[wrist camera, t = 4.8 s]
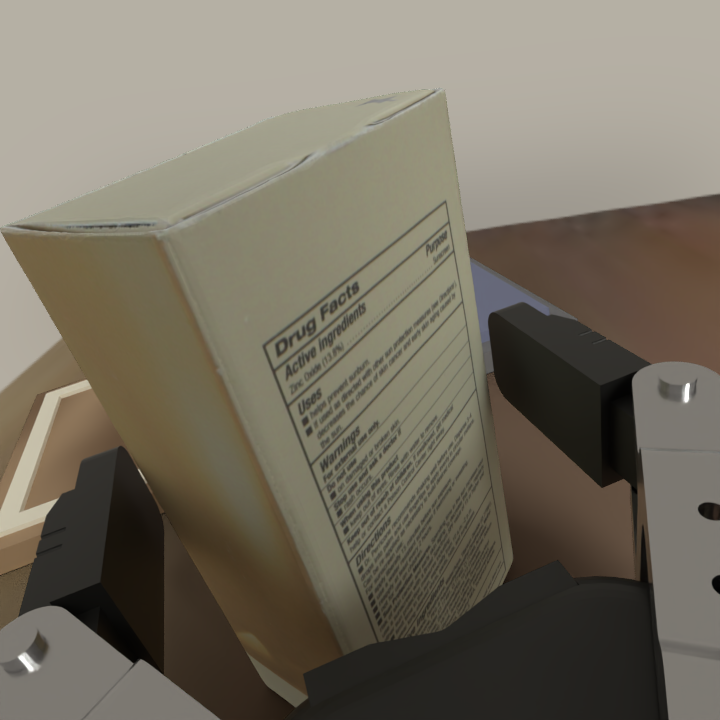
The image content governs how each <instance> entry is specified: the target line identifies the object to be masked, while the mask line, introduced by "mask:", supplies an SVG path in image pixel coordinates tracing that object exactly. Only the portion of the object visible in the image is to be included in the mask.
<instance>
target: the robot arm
mask: <svg viewBox="0 0 720 720" xmlns="http://www.w3.org/2000/svg"><path fill="white" fill-rule="evenodd" d="M488 329H489V336H490V344H491V352H492V360H493V368H494V375H495V379H496V382H497V385H498V387H499V389H500V391H501V393H502V394H503V396H504V397H505V398H506V399H507V400H508V401H509V402H510V403H511V404H512V405H513V406H514V407H515V408H516V409H517V410H518V411H520V412H521V413H522V414H523V415H524V416H525V417H526V418H527V419H528V420H529V421H530V422H531V423H532V424H534V425H535V426H536V427H537V428H538V429H539V430H540V431H541V432H542V433H543V434H544V435H545V436H546V437H548V438H549V439H550V440H551V441H552V442H553V443H554V444H555V445H556V446H557V447H558V448H559V449H560V450H562V451H563V452H564V453H565V454H566V455H567V456H568V457H569V458H570V459H571V460H572V461H573V462H575V463H576V464H577V465H578V466H579V467H580V468H581V469H582V470H583V471H584V472H585V473H586V474H587V475H589V476H590V477H591V478H592V479H593V480H594V481H595V482H596V483H597V484H598V485H599V486H600V487H601V488H603V487H605V486H608V485H610V484H612V483H615V482H617V481H619V480H622V479H625V480H626V481H627V482H628V483H630V505H631V521H632V537H633V553H634V570H635V580H632V579H626V578H618V577H604V576H592V577H579V578H572V576H571V575H570V574H569V573H568V572H567V570H566V569H565V568H564V567H563V566H562V564H561V563H560V562H559V561H558V560H557V561H554V562H552V563H550V564H548V565H545V566H543V567H541V568H539V569H536V570H534V571H532V572H530V573H527V574H525V575H523V576H521V577H518V578H516V579H514V580H512V581H510V582H507V583H505V584H503V585H501V586H499V587H497V588H496V589H495V590H494V591H492V592H491V593H490V594H489V595H487V596H486V597H485V598H484V599H482V600H481V601H480V602H478V603H477V604H476V605H475V606H473V607H472V608H471V609H470V610H468V611H467V612H466V613H465V614H463V615H462V616H461V617H460V618H458V619H457V620H456V621H455V622H453V623H452V624H451V625H450V626H448V627H447V628H445V629H443V630H441V631H437V632H433V633H427V634H422V635H416V636H411V637H406V638H400V639H395V640H389V641H384V642H378V643H373V644H368V645H366V646H364V647H362V648H360V649H357V650H355V651H353V652H351V653H348V654H346V655H344V656H342V657H339V658H337V659H335V660H333V661H330V662H328V663H326V664H324V665H321V666H319V667H317V668H315V669H313V670H310V671H308V672H306V673H304V674H303V676H304V681H305V685H306V689H307V694H308V698H307V699H306V700H305V701H303V702H302V703H301V704H300V705H298V706H297V707H296V708H295V709H294V710H293V711H292V712H291V713H290V714H289V715H288V716H287V717H286V718H285V719H284V720H720V376H719V375H718V374H717V373H715V372H714V371H712V370H710V369H708V368H706V367H703V366H700V365H697V364H692V363H686V362H662V363H656V364H650V363H649V362H647V361H645V360H643V359H642V358H640V357H638V356H637V355H635V354H633V353H631V352H630V351H628V350H626V349H624V348H623V347H621V346H619V345H618V344H616V343H614V342H612V341H611V340H606V338H605V337H604V336H602V335H600V334H599V333H597V332H592V329H590V328H588V327H586V326H585V325H583V324H581V323H580V322H578V321H576V320H574V319H570V318H565V317H561V316H557V315H553V314H551V315H548V316H547V315H545V314H543V313H542V312H540V311H538V310H537V309H535V308H534V307H532V306H530V305H529V304H527V303H525V302H519V303H517V304H514V305H511V306H508V307H506V308H503V309H500V310H497V311H495V312H492V313H490V315H489V317H488ZM40 537H41V540H40V541H39V543H38V547H37V551H36V556H37V558H34V562H33V565H32V569H31V572H30V576H29V580H28V583H27V587H26V591H25V594H24V598H23V601H22V605H21V609H20V612H19V616H18V618H16V619H15V620H13V621H12V622H10V623H9V624H8V625H6V626H5V627H4V628H2V629H1V630H0V720H220V719H219V718H218V717H217V716H215V715H214V714H213V713H211V712H210V711H209V710H208V709H206V708H205V707H204V706H202V705H201V704H200V703H199V702H197V701H196V700H195V699H193V698H192V697H191V696H190V695H188V694H187V693H186V692H184V691H183V690H182V689H181V688H179V687H178V686H177V685H175V684H174V683H173V682H172V681H170V680H169V679H168V678H166V677H165V676H164V675H163V674H164V526H163V521H162V517H161V514H160V511H159V508H158V506H157V503H156V501H155V500H154V498H153V496H152V494H151V492H150V491H149V489H148V487H147V485H146V483H145V482H144V480H143V478H142V476H141V474H140V473H139V471H138V469H137V467H136V465H135V464H134V462H133V460H132V458H131V456H130V455H129V453H128V452H127V450H126V449H125V448H124V447H123V446H118V447H115V448H112V449H110V450H107V451H104V452H101V453H99V454H96V455H93V456H90V457H88V458H85V459H83V460H82V461H81V463H80V467H79V472H78V476H77V481H76V485H75V489H73V490H70V491H68V492H65V493H62V494H61V496H60V497H59V499H58V500H57V501H56V503H55V504H54V505H53V507H52V508H51V510H50V511H49V512H48V514H47V515H46V518H45V522H44V525H43V529H42V532H41V536H40Z"/></svg>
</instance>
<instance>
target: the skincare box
mask: <svg viewBox="0 0 720 720" xmlns="http://www.w3.org/2000/svg"><path fill="white" fill-rule="evenodd" d="M0 229H1V233H2V234H3V236H4V238H5V240H6V242H7V243H8V245H9V247H10V249H11V250H12V252H13V254H14V255H15V257H16V259H17V261H18V262H19V264H20V266H21V267H22V269H23V271H24V272H25V274H26V276H27V277H28V279H29V281H30V282H31V284H32V286H33V287H34V289H35V291H36V293H37V294H38V296H39V298H40V300H41V301H42V303H43V305H44V306H45V308H46V310H47V312H48V313H49V315H50V317H51V319H52V320H53V322H54V324H55V325H56V327H57V329H58V330H59V332H60V334H61V336H62V337H63V339H64V341H65V342H66V344H67V346H68V347H69V349H70V351H71V352H72V354H73V356H74V357H75V359H76V361H77V363H78V364H79V366H80V368H81V370H82V371H83V373H84V375H85V377H86V379H87V380H88V382H89V384H90V386H91V387H92V389H93V391H94V393H95V394H96V396H97V398H98V399H99V401H100V403H101V404H102V406H103V408H104V409H105V411H106V413H107V415H108V416H109V418H110V420H111V422H112V423H113V425H114V427H115V429H116V430H117V432H118V433H119V435H120V437H121V438H122V440H123V441H124V443H125V445H126V447H127V449H128V451H129V452H130V454H131V456H132V458H133V459H134V461H135V463H136V464H137V466H138V468H139V469H140V471H141V473H142V475H143V476H144V478H145V480H146V481H147V483H148V485H149V487H150V488H151V490H152V492H153V494H154V495H155V497H156V499H157V501H158V502H159V504H160V506H161V507H162V509H163V510H164V512H165V514H166V515H167V517H168V519H169V521H170V523H171V525H172V526H173V528H174V530H175V532H176V533H177V535H178V537H179V538H180V540H181V542H182V544H183V545H184V547H185V549H186V550H187V552H188V554H189V555H190V557H191V559H192V560H193V562H194V564H195V565H196V567H197V569H198V571H199V572H200V574H201V576H202V577H203V579H204V581H205V582H206V584H207V586H208V587H209V589H210V591H211V593H212V594H213V596H214V598H215V599H216V601H217V603H218V604H219V606H220V608H221V609H222V611H223V613H224V615H225V616H226V618H227V620H228V621H229V623H230V625H231V627H232V628H233V630H234V632H235V634H236V635H237V637H238V639H239V641H240V642H241V644H242V646H243V648H244V649H245V651H246V653H247V654H248V656H249V658H250V660H251V662H252V663H253V665H254V666H255V668H256V670H257V672H258V673H259V675H260V677H261V678H262V680H263V681H264V683H265V684H266V685H267V686H268V687H269V688H270V689H272V690H273V691H275V692H276V693H277V694H278V695H280V696H281V697H282V698H284V699H285V700H286V701H288V702H289V703H290V704H292V705H293V706H294V707H297V706H298V705H300V704H301V703H302V702H303V701H305V700H306V699H307V698H308V694H307V689H306V685H305V681H304V676H303V674H304V673H306V672H308V671H310V670H313V669H315V668H317V667H319V666H321V665H324V664H326V663H328V662H330V661H333V660H335V659H337V658H339V657H342V656H344V655H346V654H348V653H351V652H353V651H355V650H357V649H360V648H362V647H364V646H366V645H368V644H373V643H378V642H384V641H389V640H395V639H400V638H406V637H411V636H416V635H422V634H427V633H433V632H437V631H441V630H443V629H445V628H447V627H448V626H450V625H451V624H452V623H453V622H455V621H456V620H457V619H458V618H460V617H461V616H462V615H463V614H465V613H466V612H467V611H468V610H470V609H471V608H472V607H473V606H475V605H476V604H477V603H478V602H480V601H481V600H482V599H484V598H485V597H486V596H487V595H489V594H490V593H491V592H492V591H494V590H495V589H496V588H497V587H499V586H501V585H502V584H503V582H504V580H505V577H506V575H507V573H508V571H509V569H510V567H511V564H512V561H513V551H512V545H511V538H510V532H509V525H508V517H507V511H506V504H505V498H504V491H503V485H502V478H501V471H500V464H499V457H498V451H497V444H496V438H495V429H494V422H493V416H492V409H491V403H490V396H489V389H488V382H487V375H486V369H485V362H484V356H483V349H482V342H481V335H480V328H479V321H478V313H477V306H476V300H475V292H474V284H473V278H472V272H471V265H470V258H469V252H468V245H467V237H466V230H465V224H464V218H463V212H462V205H461V197H460V191H459V183H458V177H457V170H456V164H455V157H454V150H453V144H452V138H451V129H450V122H449V116H448V108H447V101H446V95H445V90H444V89H442V88H438V89H432V90H426V89H423V90H415V91H408V92H400V93H393V94H388V95H382V96H377V97H372V98H366V99H361V100H356V101H350V102H345V103H339V104H333V105H327V106H321V107H315V108H309V109H304V110H299V111H295V112H291V113H287V114H283V115H280V116H276V117H271V118H267V119H264V120H262V121H260V122H258V123H256V124H254V125H252V126H250V127H247V128H245V129H243V130H239V131H237V132H235V133H233V134H230V135H227V136H225V137H223V138H222V139H217V140H215V141H213V142H211V143H209V144H206V145H202V146H200V147H198V148H196V149H194V150H191V151H188V152H186V153H184V154H182V155H179V156H177V157H175V158H172V159H169V160H166V161H164V162H162V163H159V164H157V165H155V166H153V167H151V168H149V169H146V170H142V171H139V172H137V173H135V174H133V175H130V176H128V177H126V178H123V179H121V180H119V181H115V182H113V183H111V184H109V185H107V186H104V187H101V188H99V189H97V190H94V191H91V192H88V193H85V194H83V195H81V196H79V197H77V198H75V199H72V200H70V201H67V202H65V203H61V204H59V205H57V206H55V207H53V208H51V209H48V210H45V211H41V212H39V213H36V214H34V215H31V216H29V217H27V218H24V219H21V220H19V221H16V222H13V223H10V224H7V225H5V226H3V227H1V228H0Z"/></svg>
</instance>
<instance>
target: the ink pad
mask: <svg viewBox="0 0 720 720" xmlns="http://www.w3.org/2000/svg"><path fill="white" fill-rule="evenodd" d="M469 258H470V265H471V272H472V278H473V284H474V292H475V300H476V306H477V313H478V321H479V328H480V335H481V342H482V349H483V356H484V362H485V369H486V374H488V373H490V372H493V371H494V368H493V360H492V352H491V344H490V336H489V329H488V317H489V315H490V313H492V312H495V311H497V310H500V309H503V308H506V307H508V306H511V305H514V304H517V303H519V302H525V303H527V304H529V305H530V306H532V307H534V308H535V309H537V310H538V311H540V312H542V313H543V314H545V315H547V316H548V315H551V314H553V315H557V316H561V317H565V318H570V319H574V320H576V321H578V319H577V318H575V317H573V316H571V315H570V314H568V313H566V312H565V311H563V310H561V309H559V308H558V307H556V306H554V305H552V304H551V303H549V302H547V301H545V300H544V299H542V298H540V297H538V296H537V295H535V294H533V293H531V292H530V291H528V290H526V289H525V288H523V287H521V286H519V285H518V284H516V283H514V282H512V281H511V280H509V279H507V278H505V277H504V276H502V275H500V274H498V273H497V272H495V271H493V270H491V269H490V268H488V267H486V266H484V265H483V264H481V263H479V262H478V261H476V260H474V259H472V258H471V257H469Z"/></svg>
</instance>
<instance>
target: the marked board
mask: <svg viewBox="0 0 720 720" xmlns="http://www.w3.org/2000/svg"><path fill="white" fill-rule="evenodd" d="M118 446H123V447H124V448H125V449H126V450H127V452H128V453H129V455H130V456H131V454H130V452H129V451H128V449H127V447H126V445H125V443H124V441H123V440H122V438H121V437H120V435H119V433H118V432H117V430H116V429H115V427H114V425H113V423H112V422H111V420H110V418H109V416H108V415H107V413H106V411H105V409H104V408H103V406H102V404H101V403H100V401H99V399H98V398H97V396H96V394H95V393H94V391H93V389H92V387H91V386H90V384H89V382H88V380H87V379H86V378H85V379H82V380H79V381H76V382H74V383H71V384H68V385H65V386H62V387H59V388H56V389H53V390H50V391H47V392H44V393H41V394H38V395H37V396H36V398H35V401H34V403H33V406H32V408H31V410H30V413H29V415H28V417H27V420H26V422H25V425H24V427H23V429H22V432H21V434H20V437H19V439H18V441H17V444H16V446H15V448H14V451H13V453H12V456H11V458H10V460H9V463H8V465H7V467H6V470H5V472H4V475H3V477H2V479H1V482H0V575H2V574H4V573H7V572H9V571H12V570H15V569H17V568H20V567H23V566H25V565H28V564H30V563H33V562H34V558H37V556H36V551H37V547H38V543H39V541H40V540H41V537H40V536H41V532H42V529H43V525H44V522H45V518H46V515H47V514H48V512H49V511H50V510H51V508H52V507H53V505H54V504H55V503H56V501H57V500H58V499H59V497H60V496H61V494H62V493H65V492H68V491H70V490H73V489H75V485H76V481H77V476H78V472H79V467H80V463H81V461H82V460H83V459H85V458H88V457H90V456H93V455H96V454H99V453H101V452H104V451H107V450H110V449H112V448H115V447H118ZM131 458H132V456H131ZM132 460H133V462H134V464H135V465H136V467H137V469H138V471H139V473H140V474H141V476H142V478H143V480H144V482H145V483H146V485H147V487H148V489H149V491H150V492H151V494H152V496H153V498H154V500H155V501H156V503H157V506H158V508H159V511H160V514H162V513H164V510H163V509H162V507H161V506H160V504H159V502H158V501H157V499H156V497H155V495H154V494H153V492H152V490H151V488H150V487H149V485H148V483H147V481H146V480H145V478H144V476H143V475H142V473H141V471H140V469H139V468H138V466H137V464H136V463H135V461H134V459H133V458H132Z"/></svg>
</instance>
